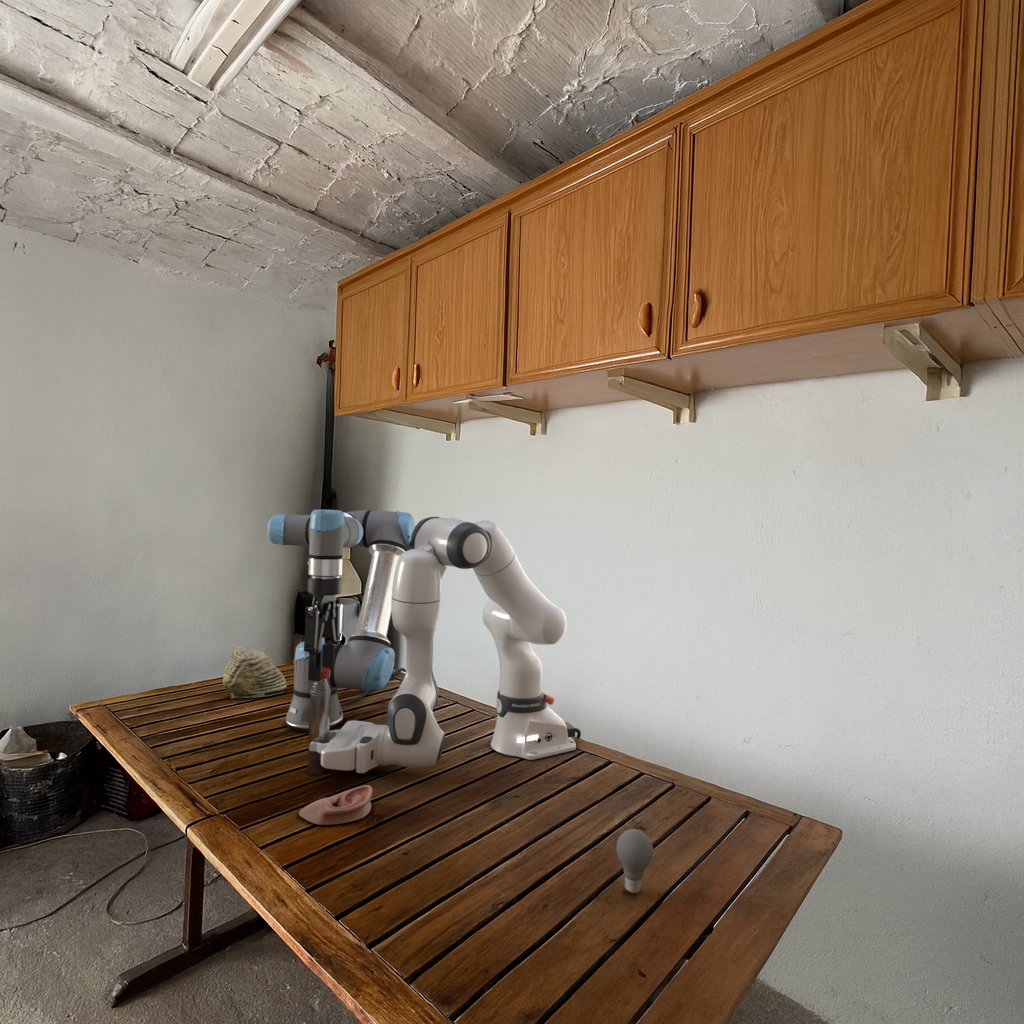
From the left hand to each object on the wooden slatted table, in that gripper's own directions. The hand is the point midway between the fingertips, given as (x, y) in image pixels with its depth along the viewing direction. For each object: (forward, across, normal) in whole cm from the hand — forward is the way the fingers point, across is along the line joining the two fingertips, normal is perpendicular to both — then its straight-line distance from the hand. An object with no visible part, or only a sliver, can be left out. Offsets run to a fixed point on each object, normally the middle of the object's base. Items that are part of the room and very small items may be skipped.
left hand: (321, 676), depth 146 cm
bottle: (+22, 0, 0) cm, 22 cm away
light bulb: (+22, +30, +71) cm, 80 cm away
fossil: (+22, -45, -43) cm, 66 cm away
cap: (-1, 0, 0) cm, 1 cm away
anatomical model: (+22, +18, +12) cm, 31 cm away
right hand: (+15, 0, -1) cm, 15 cm away
